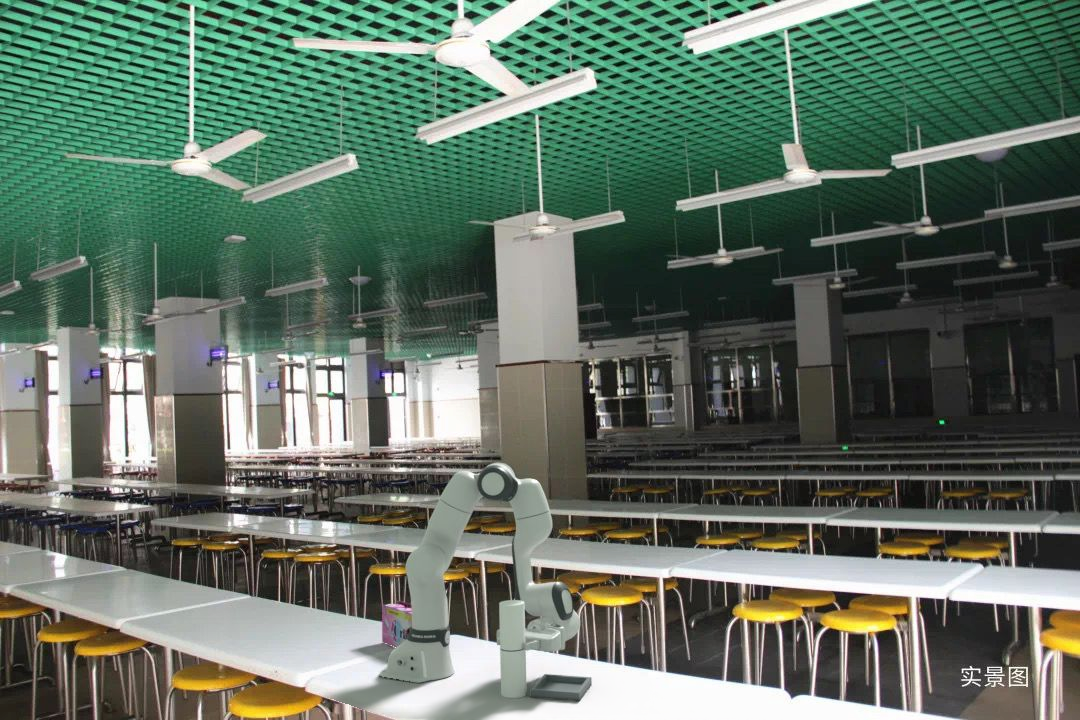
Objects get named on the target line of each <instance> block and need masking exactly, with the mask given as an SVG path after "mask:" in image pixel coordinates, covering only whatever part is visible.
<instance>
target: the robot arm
mask: <svg viewBox="0 0 1080 720" xmlns="http://www.w3.org/2000/svg"><path fill="white" fill-rule="evenodd" d="M543 489H544V488H543V487H542V485H541V483H540V481H538V480H537V479H535V478H528V477H527V478H522V479H521V478H517V474H516V472H515V469H514V468H513V467H512V466H511V465H510V464H508V463H506V462H502V461H496V462H493V463H490V464H488V465H487V466H485V467H484V468H483V469H482V470H481V471H479V472H478V473H474V472H472V471H469V470H459V471H457V472H455V473H454V475H452V477H451V479H449V481H448V483H447V485H446V486H445V487H444V489H443V491H442V493H441V496H439V497H440V498H439V499H438V501H437V503H436V505H435V507H434V509H433V512H432V514H431V516H430V518H429V520H428V524H427V527H426V529H425V530H426V531H425V533H424V534H423V538H422V541H421V543H420V545H419V546H418V547H417V548H416V549H414V550H413V551H411V553H410V554H409V555H408V558H407V560H406V563H405V574H406V576H407V584H408V591H409V594H410V600H411V601H410V604H411V607H412V625H411V627H409V628H408V629H407V630H406V631H404V632H405V633H404V635H406V634H407V639H406V640H405V641H403V642H402V643H401V644H400V645H399V646H398V647H396V648H394V649H393V650H391V652H390V654H389V655H388V659H387V665H386V666H385V667H384V668H382V669H381V670H380V672H379V677H380V676H382V677H381V678H384V677H387V678H386V679H390V678H393V679H392V680H396V679H399V680H398V681H403V680H404V681H403V682H409V681H410V682H411V683H417V684H419V683H424V682H428V681H435V680H441V679H445V678H447V677H450V676H453V674H454V673H455V669H454V666H453V662H452V659H451V658H452V657H451V652H450V641H451V640H450V639H451V633H450V632H451V631H450V629H451V628H450V624H449V614H448V613H449V611H448V610H449V609H448V606H449V605H448V597H447V591H446V587H445V580H444V579H445V578H444V577H445V576H444V575H445V573H446V571H447V570H448V569H449V567H450V565H451V563H452V560H453V558H454V555H455V553H456V551H457V548H458V546H459V542H460V540H461V538H462V535H463V533H464V531H465V529H466V527H467V525H468V523H469V521H470V518H471V516H472V514H473V512H474V510H475V507H476V506H477V504H478V502H479V501H480V500H481V499H482V498H484V499H486V500H489V501H493V502H509V504H510V506H511V508H512V511H513V512H512V513H513V515H514V516H513V517H514V521H515V534H514V536H513V538H512V541H511V554H512V555H511V556H512V566H513V567H512V568H513V576H514V577H513V578H514V587H515V588H514V589H515V590H514V600H520V601H524V604H525V619H532V618H533V620H531V621H529V623H528V625H527V627H525V643H523V650H526V652H528V651H530V650H536V651H538V652H540V651H541V652H546V653H547V652H548V653H553V652H557V651H563V650H565V649H566V642H567V641H569V640H571V639H572V638H574V637H575V636H576V635H577V634H578V632H579V630H580V629H581V619H580V616H579V614H578V613H577V612H576V611H575V609H574V600H573V599H574V598H573V595H572V594H573V593H572V592H571V591H570V588H569V587H568V586H567V585H566V584H565V583H564V582H562V581H550V582H549V581H548V582H545V583H544V582H543V583H542V582H541V583H535V582H534V580H533V572H532V561H531V555H532V552H533V551H534V549H536V547H538V546H539V545H541V544H542V543H543V542H545V541H546V540H547V539H548V538H549V536H550V535H551V533H552V530H553V517H552V515H551V510H550V506H549V502H548V499H547V497H546V493H545V491H544V490H543ZM534 618H536V619H534ZM496 646H500V628H499V629H497V630H496Z"/></svg>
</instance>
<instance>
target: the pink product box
mask: <svg viewBox="0 0 1080 720" xmlns="http://www.w3.org/2000/svg"><path fill="white" fill-rule="evenodd" d="M381 606H382V607H381V609H382V610H381V611H382V612H381V613H382V615H381V617H382V619H381V622H382V623H381V625H382V626H381V628H382V629H381V630H382V631H381V633H382V635H381V638H382V639H381V643H382V642H384V643H387V644H389V645H392V646H394V647H398V646H399V645H400V644H401V643H402V642H403V641H405V640H406V639H407V634H406V635H404V633H405V632H404V631H406V630H407V629H408V628H409V627H411V625H412V607H411V603H408V602H405V601H401V600H397V601H396V602H395V603H388V604H385V603H382V604H381ZM384 643H383V644H384Z"/></svg>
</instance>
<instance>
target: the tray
mask: <svg viewBox="0 0 1080 720" xmlns="http://www.w3.org/2000/svg"><path fill="white" fill-rule="evenodd" d="M592 681H593V680H592V677H591V676H579V675H565V674H564V675H562V674H551V673H550V674H547V673H544V674H543V675H542V677H540V679H538V681H536V683H535V684H534V685H533V686H532V687H531V688H530V689H529V692H530V693H529V695H530V696H529V697H530V698H531V699H532V698H534V699H546V700H556V701H557V700H560V701H571V702H580V701H581V700H582V699H583V698H584V696H585V695H586V693H588V691H589V689H590V688H591V687H592V685H593V684H592V683H593V682H592ZM590 686H591V687H590ZM587 690H588V691H587Z"/></svg>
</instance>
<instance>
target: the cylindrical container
mask: <svg viewBox="0 0 1080 720" xmlns="http://www.w3.org/2000/svg"><path fill="white" fill-rule="evenodd" d="M498 605H499V606H498V607H499V608H498V610H499V618H498V619H499V629H500V645H499V651H500V652H499V653H500V654H499V655H500V656H499V657H500V658H499V659H500V664H499V665H500V696H502V697H504V698H508V699H517V698H522V697H526V696H527V694H528V693H527V658H526V655H527V653H526V652H527V650H523V643H525V628H526V618H525V604H524V601H520V600H515V599H508V600H503V601H500V602H499V603H498Z"/></svg>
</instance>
